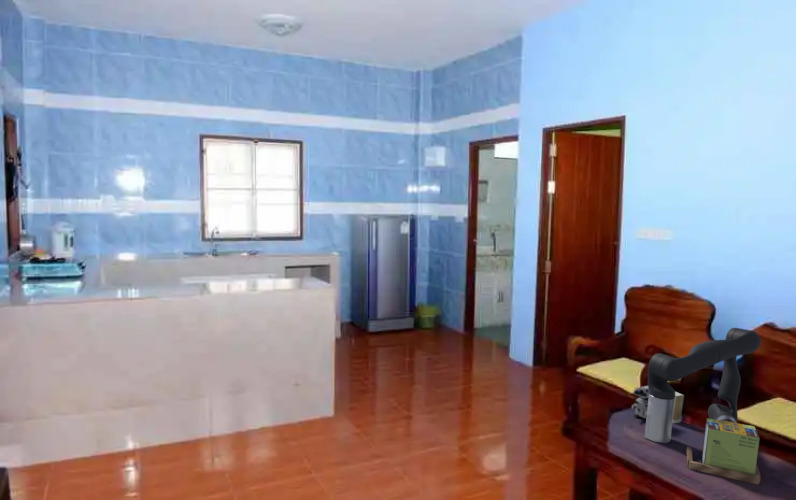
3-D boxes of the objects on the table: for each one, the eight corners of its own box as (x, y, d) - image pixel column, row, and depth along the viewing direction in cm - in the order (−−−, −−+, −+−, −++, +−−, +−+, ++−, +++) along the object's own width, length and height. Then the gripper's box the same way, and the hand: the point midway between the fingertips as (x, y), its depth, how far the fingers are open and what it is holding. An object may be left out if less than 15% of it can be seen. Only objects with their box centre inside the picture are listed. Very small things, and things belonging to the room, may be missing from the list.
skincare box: (661, 418, 248) (664, 390, 247) (668, 417, 250) (671, 389, 249) (674, 423, 242) (677, 395, 241) (681, 422, 244) (684, 394, 243)
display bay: (687, 468, 202) (688, 461, 201) (686, 453, 214) (687, 446, 214) (760, 485, 192) (761, 477, 192) (755, 467, 205) (755, 461, 205)
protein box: (754, 481, 195) (760, 437, 193) (703, 470, 201) (708, 428, 199) (749, 467, 204) (755, 425, 202) (701, 457, 210) (705, 417, 208)
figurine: (624, 418, 245) (627, 384, 244) (643, 415, 250) (647, 382, 249) (641, 427, 237) (645, 391, 235) (661, 423, 242) (664, 389, 240)
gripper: (708, 415, 224) (713, 430, 208) (748, 422, 219) (755, 438, 203) (707, 433, 225) (711, 450, 209) (746, 441, 219) (753, 459, 203)
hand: (732, 444), depth 206 cm, fingers closed
